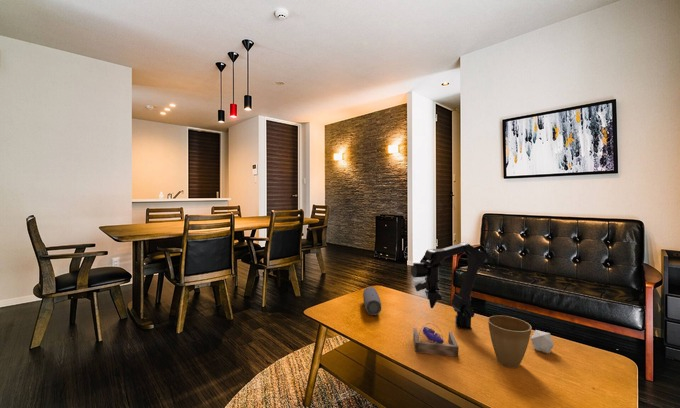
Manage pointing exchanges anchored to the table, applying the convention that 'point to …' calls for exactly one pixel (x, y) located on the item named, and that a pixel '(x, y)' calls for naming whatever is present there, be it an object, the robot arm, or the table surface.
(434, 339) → the game controller
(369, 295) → the bluetooth speaker
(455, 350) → the docking bay
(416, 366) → the table surface
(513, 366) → the plant pot
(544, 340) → the die
